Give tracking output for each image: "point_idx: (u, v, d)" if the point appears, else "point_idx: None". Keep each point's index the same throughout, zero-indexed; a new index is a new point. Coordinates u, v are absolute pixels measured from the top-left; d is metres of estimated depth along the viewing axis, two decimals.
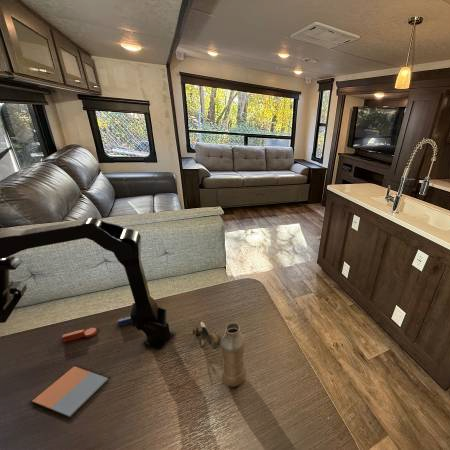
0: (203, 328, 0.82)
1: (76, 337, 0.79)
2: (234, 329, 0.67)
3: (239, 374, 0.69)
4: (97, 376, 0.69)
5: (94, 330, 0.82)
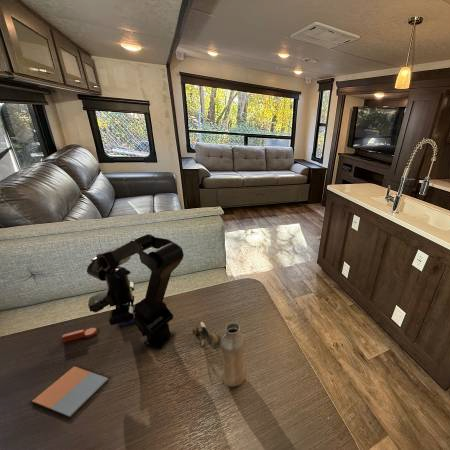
0: (203, 328, 0.82)
1: (76, 337, 0.79)
2: (234, 329, 0.67)
3: (239, 374, 0.69)
4: (97, 376, 0.69)
5: (94, 330, 0.82)
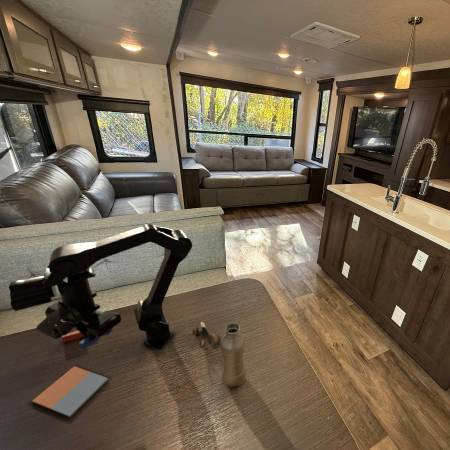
0: (203, 328, 0.82)
1: (76, 337, 0.79)
2: (234, 329, 0.67)
3: (239, 374, 0.69)
4: (97, 376, 0.69)
5: None
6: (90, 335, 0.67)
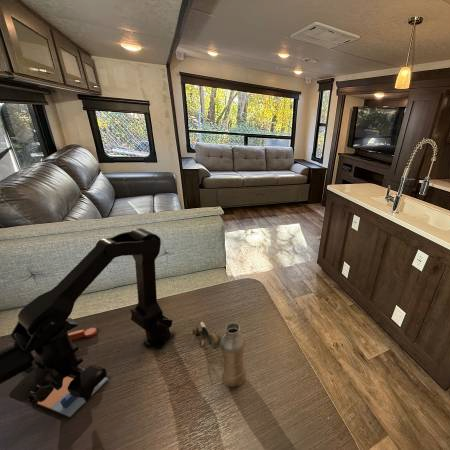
0: (203, 328, 0.82)
1: (76, 337, 0.79)
2: (234, 329, 0.67)
3: (239, 374, 0.69)
4: None
5: (94, 330, 0.82)
6: (85, 396, 0.60)
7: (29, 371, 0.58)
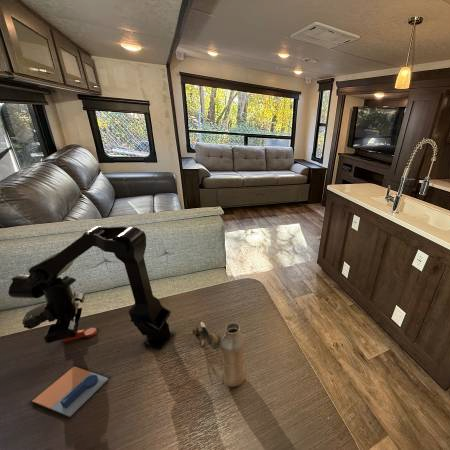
0: (203, 328, 0.82)
1: (76, 337, 0.79)
2: (234, 329, 0.67)
3: (239, 374, 0.69)
4: (97, 376, 0.69)
5: (94, 330, 0.82)
6: None
7: None
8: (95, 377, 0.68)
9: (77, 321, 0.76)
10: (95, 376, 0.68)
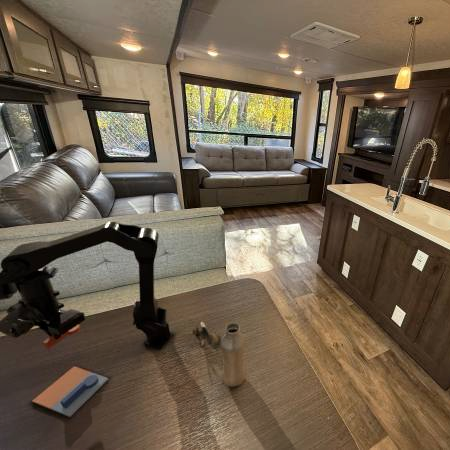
0: (203, 328, 0.82)
1: (61, 338, 0.69)
2: (234, 329, 0.67)
3: (239, 374, 0.69)
4: (97, 376, 0.69)
5: None
6: (54, 334, 0.66)
7: None
8: (95, 377, 0.68)
9: None
10: (95, 376, 0.68)
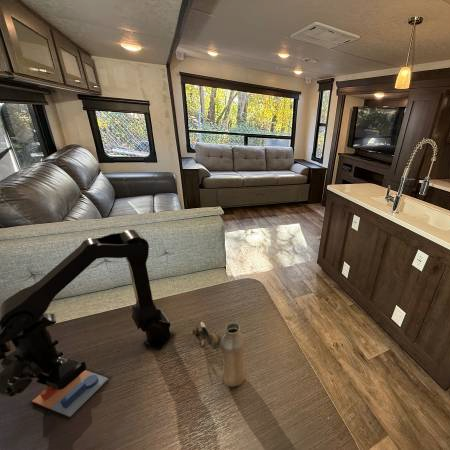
0: (203, 328, 0.82)
1: None
2: (234, 329, 0.67)
3: (239, 374, 0.69)
4: (97, 376, 0.69)
5: None
6: None
7: (9, 364, 0.59)
8: (95, 377, 0.68)
9: None
10: (95, 376, 0.68)
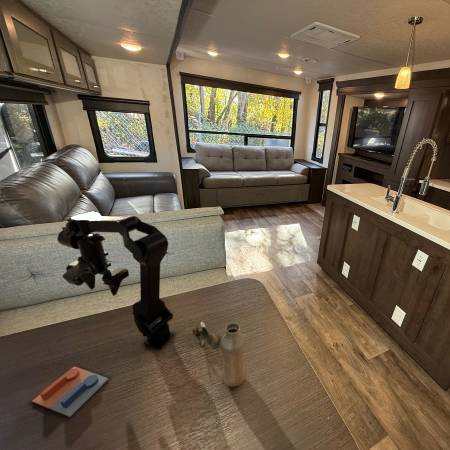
0: (203, 328, 0.82)
1: (59, 387, 0.65)
2: (234, 329, 0.67)
3: (239, 374, 0.69)
4: (97, 376, 0.69)
5: (76, 369, 0.69)
6: (113, 290, 0.81)
7: None
8: (95, 377, 0.68)
9: None
10: (95, 376, 0.68)
